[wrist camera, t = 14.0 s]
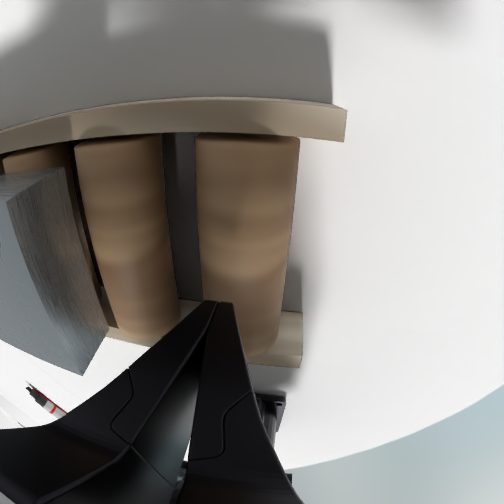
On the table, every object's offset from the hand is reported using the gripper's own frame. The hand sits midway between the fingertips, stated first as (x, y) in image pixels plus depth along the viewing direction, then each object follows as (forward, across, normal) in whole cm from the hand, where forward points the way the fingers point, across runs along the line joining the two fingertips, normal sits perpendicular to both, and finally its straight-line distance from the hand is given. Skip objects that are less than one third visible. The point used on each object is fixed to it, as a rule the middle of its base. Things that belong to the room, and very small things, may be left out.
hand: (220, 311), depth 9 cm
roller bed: (+6, +7, 0) cm, 9 cm away
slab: (+2, +12, 0) cm, 12 cm away
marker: (+6, +29, +35) cm, 46 cm away
